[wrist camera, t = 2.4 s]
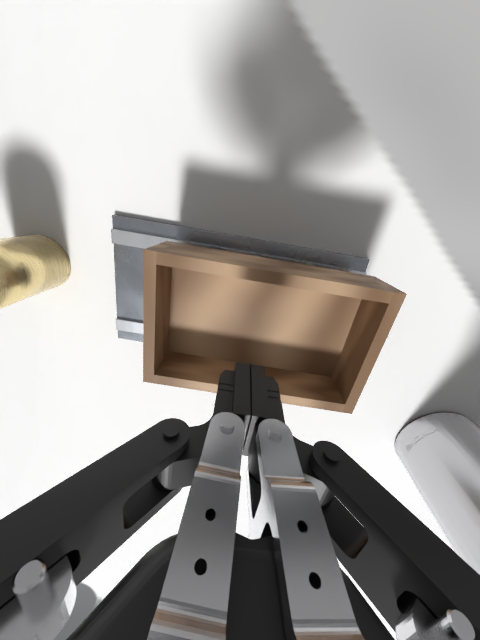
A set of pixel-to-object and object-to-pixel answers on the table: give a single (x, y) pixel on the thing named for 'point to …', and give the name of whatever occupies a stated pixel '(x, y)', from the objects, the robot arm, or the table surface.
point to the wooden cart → (262, 323)
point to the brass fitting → (30, 267)
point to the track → (144, 234)
